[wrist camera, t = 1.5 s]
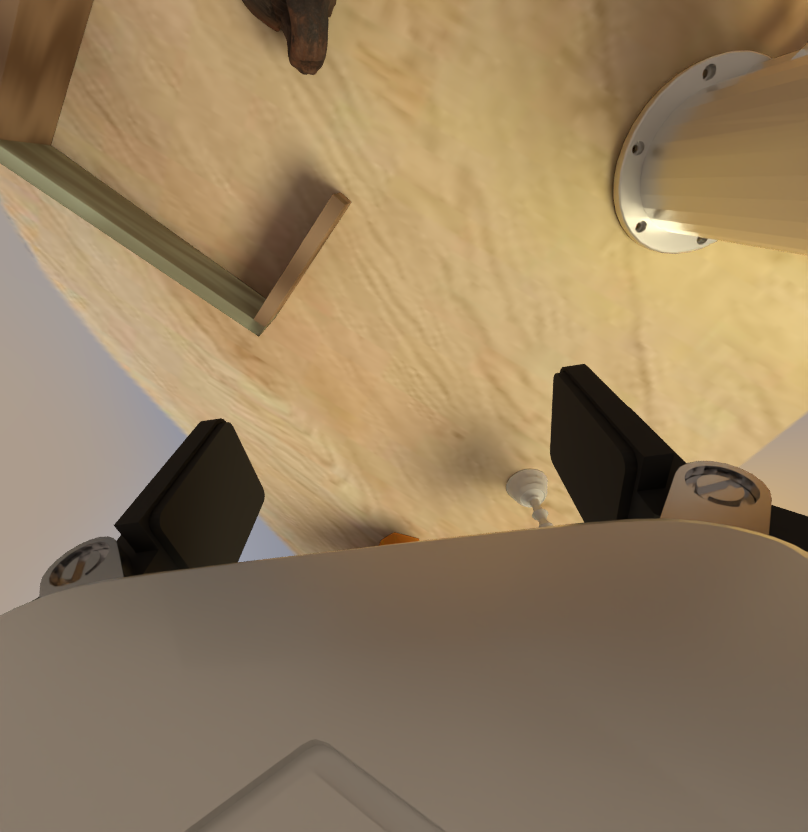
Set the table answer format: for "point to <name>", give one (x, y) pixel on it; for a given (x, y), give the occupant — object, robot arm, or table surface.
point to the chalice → (530, 492)
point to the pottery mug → (298, 28)
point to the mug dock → (85, 194)
